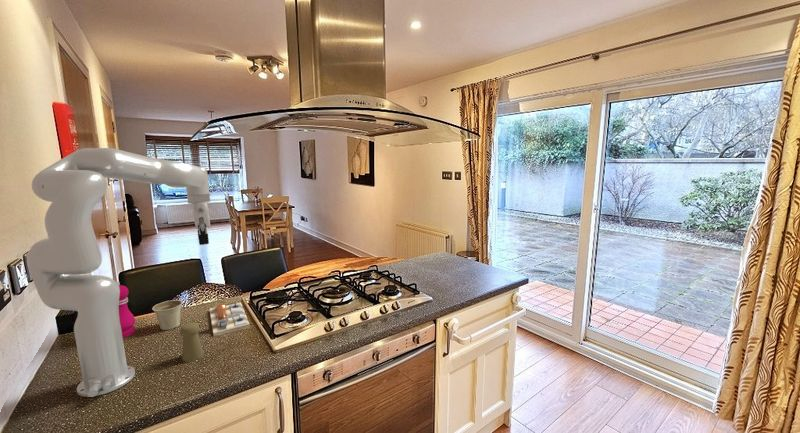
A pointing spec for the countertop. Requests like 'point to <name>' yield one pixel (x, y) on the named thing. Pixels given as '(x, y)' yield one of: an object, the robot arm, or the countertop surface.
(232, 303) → the gauge board
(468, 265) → the countertop surface
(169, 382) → the countertop surface
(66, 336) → the countertop surface
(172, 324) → the flower pot
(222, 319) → the sliding point
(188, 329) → the cork
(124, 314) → the pepper mill
